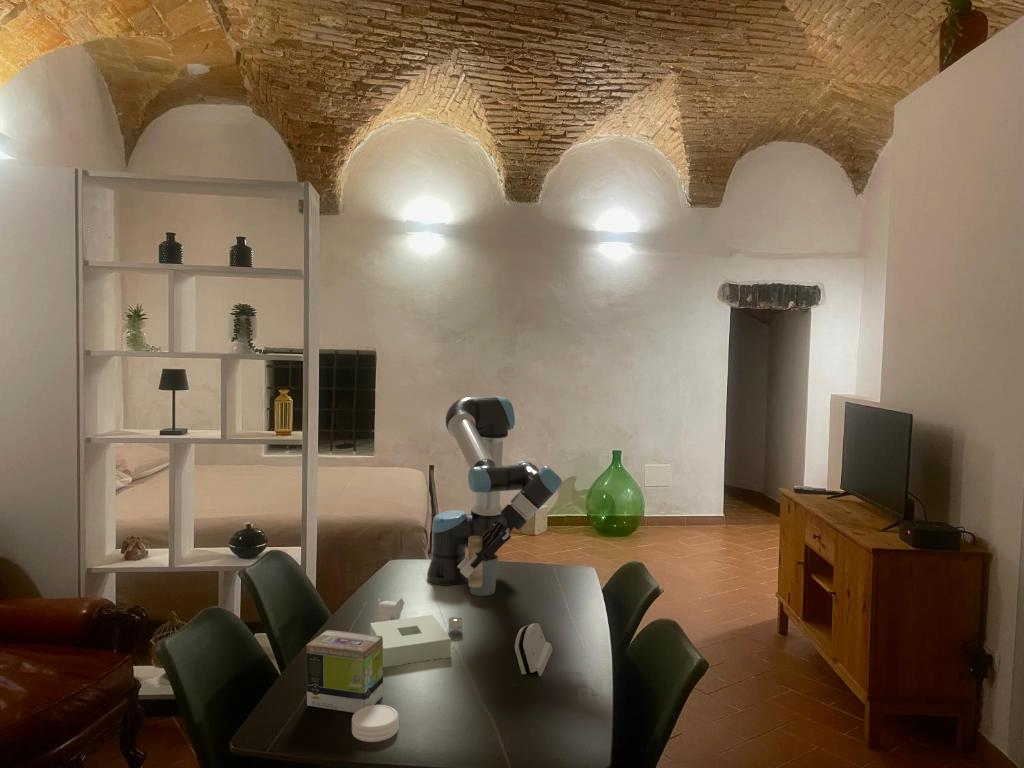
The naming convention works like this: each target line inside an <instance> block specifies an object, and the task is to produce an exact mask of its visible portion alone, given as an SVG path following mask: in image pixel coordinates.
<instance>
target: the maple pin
mask: <svg viewBox="0 0 1024 768" xmlns="http://www.w3.org/2000/svg"><path fill="white" fill-rule="evenodd" d="M467 549H468V552H467V553H468V554H467V555H468V562H469V561H470V560H471V559H472V558H473V557H474V556H475V555H476V554H475V553H476V552H477V553H479V552H480V551H481V550H482V537H481V536H470V537H468V548H467ZM467 582H468V588H470V587H471V588H479V587H482V563H481V564H480V565H479V566H478V567H477V568H476V569H475V570H474V571H473V572H472V573H471V575H470V576H469V577H468V581H467Z"/></svg>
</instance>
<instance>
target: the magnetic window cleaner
mask: <svg viewBox="0 0 1024 768" xmlns="http://www.w3.org/2000/svg"><path fill="white" fill-rule="evenodd" d="M515 638H516V639H515V641H514V642H515V643H514V650H515V654H516V657H517V662H518V664H519V665H518V666H519V669H520V673H521V675H526V674H527V673H528V672H530V673H535V672H537V675H538V677H542V675H543V673H544V671H545V668H546V666H547V664H548V662H549V660H550V658H551V655H552V653H553V651H554V650H553V646H552V644H551V643H550V642H548V641H547V640H546V637H545V635H544V633H543V630H542V627H541V625H540V623H539V622H537V623H531V624H527V625H524V626H523V627H521V628H520V629H519V631H518V633H517V635H516V637H515Z"/></svg>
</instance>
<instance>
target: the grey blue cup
mask: <svg viewBox="0 0 1024 768" xmlns="http://www.w3.org/2000/svg"><path fill="white" fill-rule="evenodd" d="M498 563H499V555H498V554H496V553H495V554H494V555H493V556H492V557H491V558H490V559H489V560H488V561H487V562H486V561H483V562H482V587H479V588H471V587H469V593H470V594H471V595H475V596H480V597H481V596H482V597H486V596H491V595H493V594H495V592H496V584H497V572H498Z"/></svg>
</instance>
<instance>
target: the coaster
mask: <svg viewBox="0 0 1024 768" xmlns="http://www.w3.org/2000/svg"><path fill="white" fill-rule="evenodd" d="M399 725H400V724H399V712H398V711H397V709H395V708H393V707H392V706H389V705H386V704H385V705H384V704H375V705H371V706H367V707H364V708H361V709H360V710H358V711H357V712H355V713H353V715H352V717H351V734H352V736H353V737H354V738H355V739H356V740H358V741H362V742H366V743H377V742H383V741H386V740H388V739H390V738H392V737H393V736H395V735H396V734H397V733H398V730H399Z"/></svg>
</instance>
